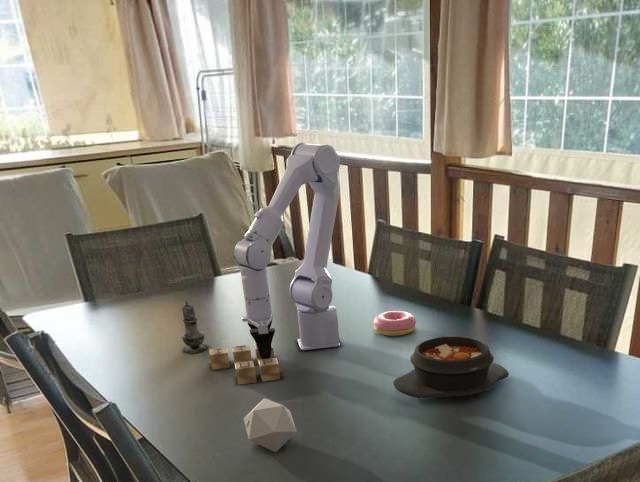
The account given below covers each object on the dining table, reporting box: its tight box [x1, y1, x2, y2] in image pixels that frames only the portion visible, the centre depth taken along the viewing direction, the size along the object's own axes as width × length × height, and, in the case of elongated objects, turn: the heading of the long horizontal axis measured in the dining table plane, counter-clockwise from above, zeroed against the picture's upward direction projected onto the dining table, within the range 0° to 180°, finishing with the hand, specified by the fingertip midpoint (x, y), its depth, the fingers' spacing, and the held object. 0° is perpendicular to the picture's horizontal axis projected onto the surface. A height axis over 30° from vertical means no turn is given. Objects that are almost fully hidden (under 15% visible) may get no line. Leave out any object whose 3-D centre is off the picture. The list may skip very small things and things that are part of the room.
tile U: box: [234, 360, 258, 386], centre depth 151 cm, size 4×4×4 cm
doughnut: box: [372, 310, 417, 337], centre depth 175 cm, size 11×11×4 cm
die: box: [243, 397, 297, 453], centre depth 123 cm, size 8×9×10 cm
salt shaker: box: [180, 300, 207, 354], centre depth 168 cm, size 6×6×12 cm
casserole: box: [392, 335, 510, 399], centre depth 142 cm, size 25×19×8 cm
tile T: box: [231, 344, 253, 364], centre depth 160 cm, size 4×4×4 cm
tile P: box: [258, 357, 281, 383], centre depth 152 cm, size 4×4×4 cm
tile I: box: [208, 346, 231, 371], centre depth 159 cm, size 4×4×4 cm
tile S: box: [254, 343, 275, 365], centre depth 161 cm, size 4×4×4 cm
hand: (264, 354), depth 161 cm, fingers open, 4 cm apart
